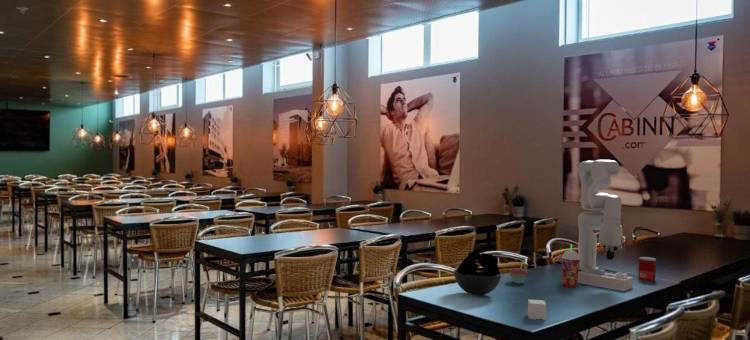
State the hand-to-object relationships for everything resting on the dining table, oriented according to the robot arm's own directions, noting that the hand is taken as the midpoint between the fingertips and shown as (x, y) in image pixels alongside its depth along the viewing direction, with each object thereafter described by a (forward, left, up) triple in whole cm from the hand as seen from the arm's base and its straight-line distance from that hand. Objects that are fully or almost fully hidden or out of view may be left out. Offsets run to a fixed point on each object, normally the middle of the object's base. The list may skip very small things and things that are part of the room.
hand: (610, 259), depth 283 cm
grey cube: (+5, -80, -13) cm, 81 cm away
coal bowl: (-30, -68, -13) cm, 75 cm away
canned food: (+6, +33, -13) cm, 36 cm away
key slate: (-5, 0, -10) cm, 11 cm away
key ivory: (+6, 0, -10) cm, 11 cm away
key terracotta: (0, 0, -12) cm, 12 cm away
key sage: (-10, 0, -10) cm, 14 cm away
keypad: (-2, 0, -13) cm, 13 cm away
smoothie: (-12, -17, -13) cm, 25 cm away
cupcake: (-32, -30, -13) cm, 46 cm away
